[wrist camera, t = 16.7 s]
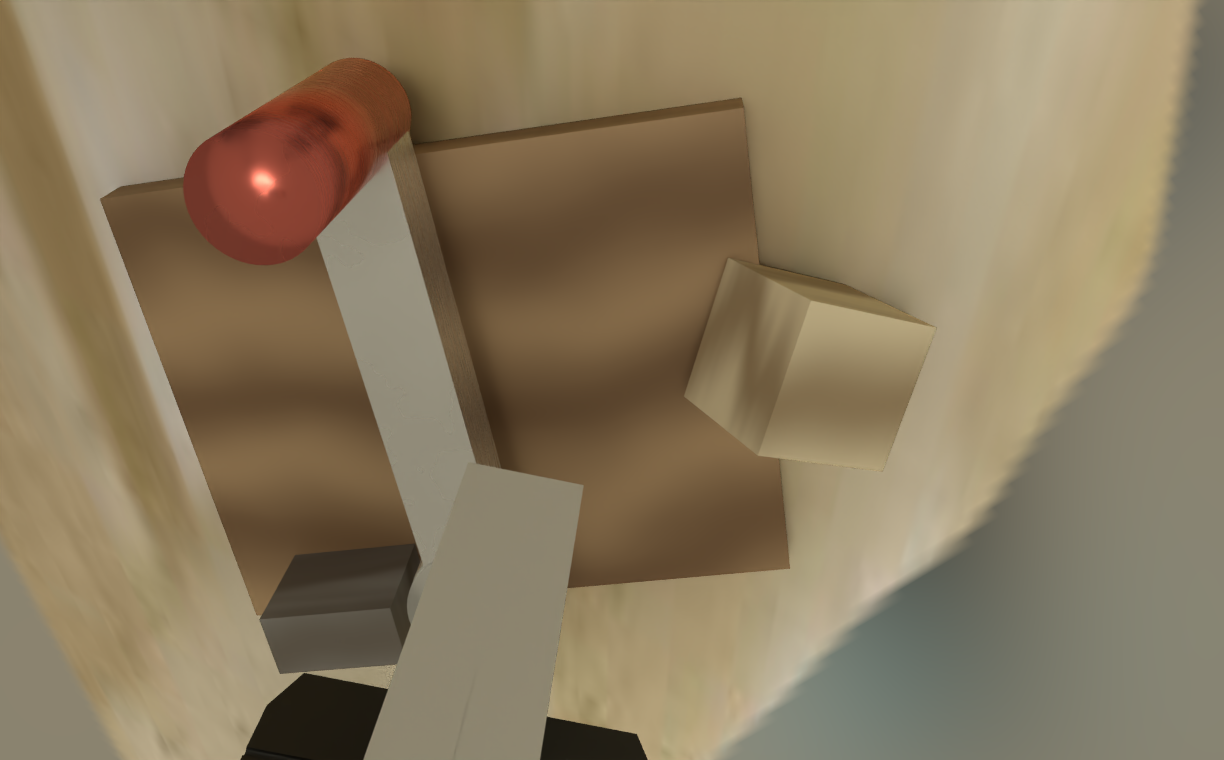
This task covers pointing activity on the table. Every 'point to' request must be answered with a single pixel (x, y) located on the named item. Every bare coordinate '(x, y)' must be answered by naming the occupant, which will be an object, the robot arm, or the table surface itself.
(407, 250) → the lever
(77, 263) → the table surface
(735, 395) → the block
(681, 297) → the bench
